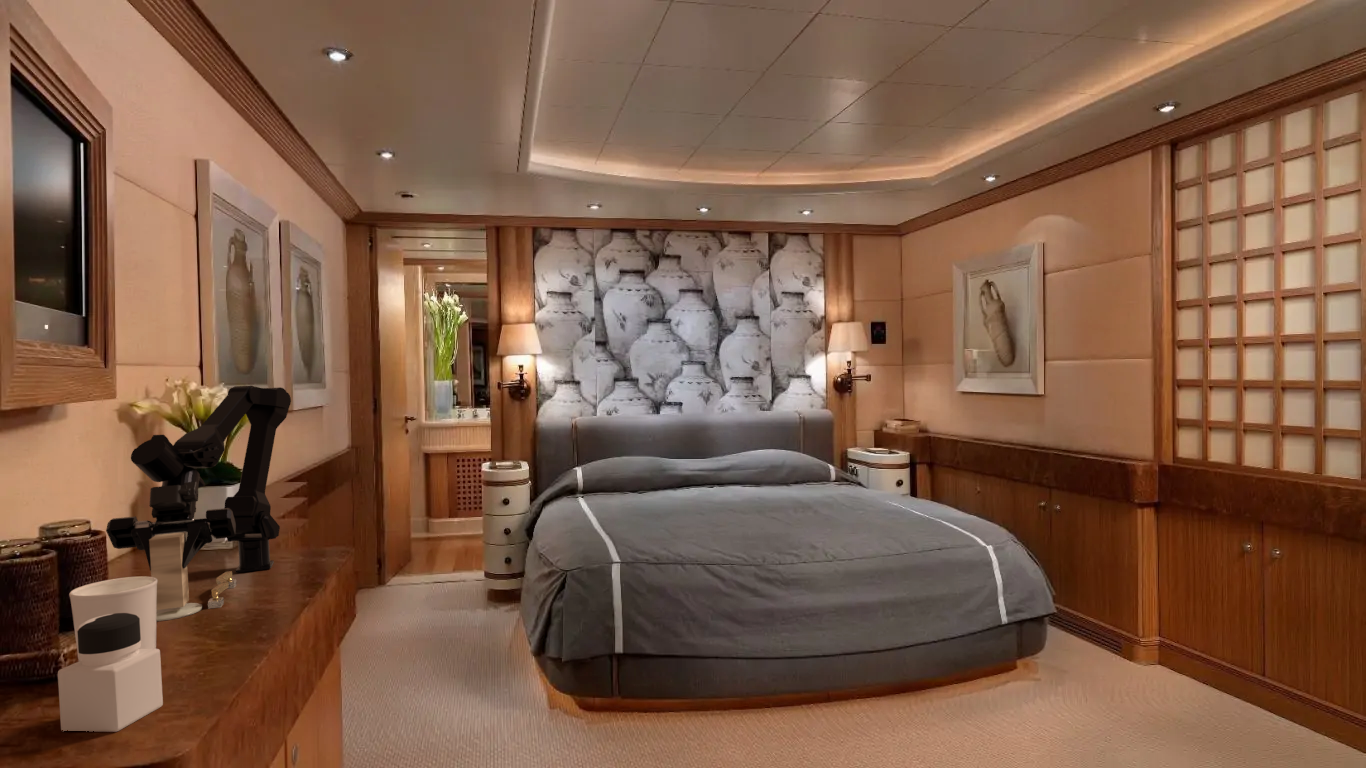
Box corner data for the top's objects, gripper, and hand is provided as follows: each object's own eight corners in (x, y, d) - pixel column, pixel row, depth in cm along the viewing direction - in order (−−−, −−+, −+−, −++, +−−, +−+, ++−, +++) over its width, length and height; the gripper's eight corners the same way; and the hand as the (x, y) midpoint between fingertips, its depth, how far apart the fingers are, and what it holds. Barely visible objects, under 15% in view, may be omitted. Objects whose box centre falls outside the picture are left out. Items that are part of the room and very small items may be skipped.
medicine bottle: (164, 706, 97) (159, 608, 97) (117, 732, 90) (111, 627, 89) (110, 705, 97) (105, 608, 97) (59, 732, 90) (53, 627, 90)
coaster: (148, 609, 139) (147, 607, 139) (206, 602, 143) (206, 600, 143) (133, 624, 131) (133, 622, 131) (196, 616, 134) (196, 613, 134)
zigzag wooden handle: (222, 586, 154) (221, 571, 154) (238, 584, 155) (237, 569, 155) (205, 609, 139) (204, 591, 138) (223, 606, 140) (222, 589, 139)
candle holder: (178, 662, 112) (174, 577, 112) (108, 690, 103) (103, 597, 102) (128, 657, 115) (124, 574, 115) (56, 683, 106) (51, 593, 106)
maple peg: (159, 603, 138) (155, 534, 138) (189, 599, 140) (185, 532, 139) (153, 610, 134) (149, 539, 134) (183, 606, 136) (179, 536, 135)
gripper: (106, 472, 137) (88, 548, 127) (229, 463, 143) (221, 535, 133) (122, 510, 144) (106, 586, 134) (239, 500, 151) (232, 571, 141)
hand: (167, 568), depth 135 cm, fingers closed on maple peg, 4 cm apart
